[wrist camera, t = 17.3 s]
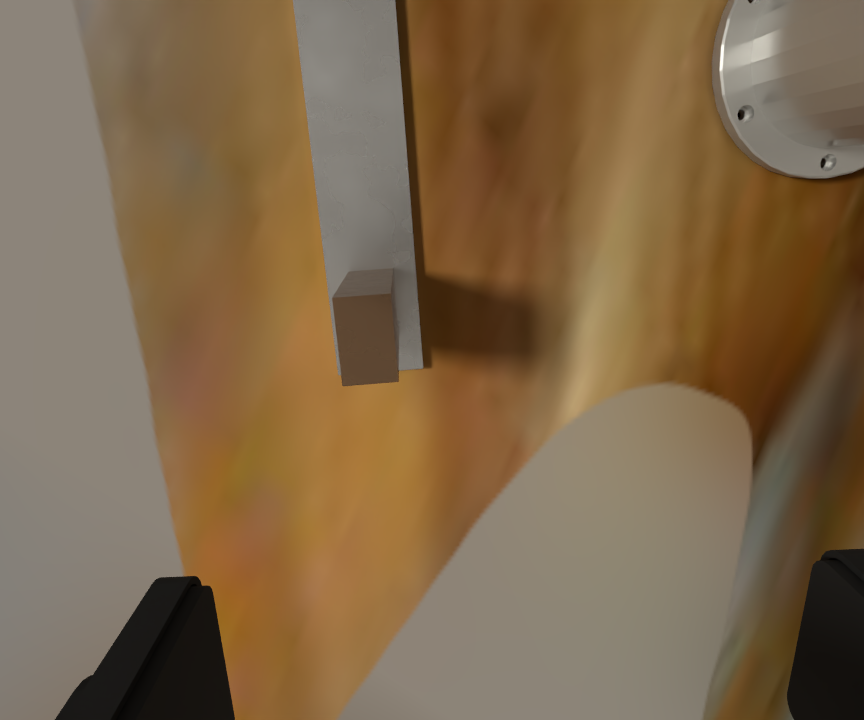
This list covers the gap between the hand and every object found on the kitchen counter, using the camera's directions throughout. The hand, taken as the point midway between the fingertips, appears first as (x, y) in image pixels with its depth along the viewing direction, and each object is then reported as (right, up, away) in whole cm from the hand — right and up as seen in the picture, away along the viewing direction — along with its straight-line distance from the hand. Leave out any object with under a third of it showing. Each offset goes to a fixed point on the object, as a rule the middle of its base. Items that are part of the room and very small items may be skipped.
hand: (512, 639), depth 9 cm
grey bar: (-5, +15, +23) cm, 28 cm away
